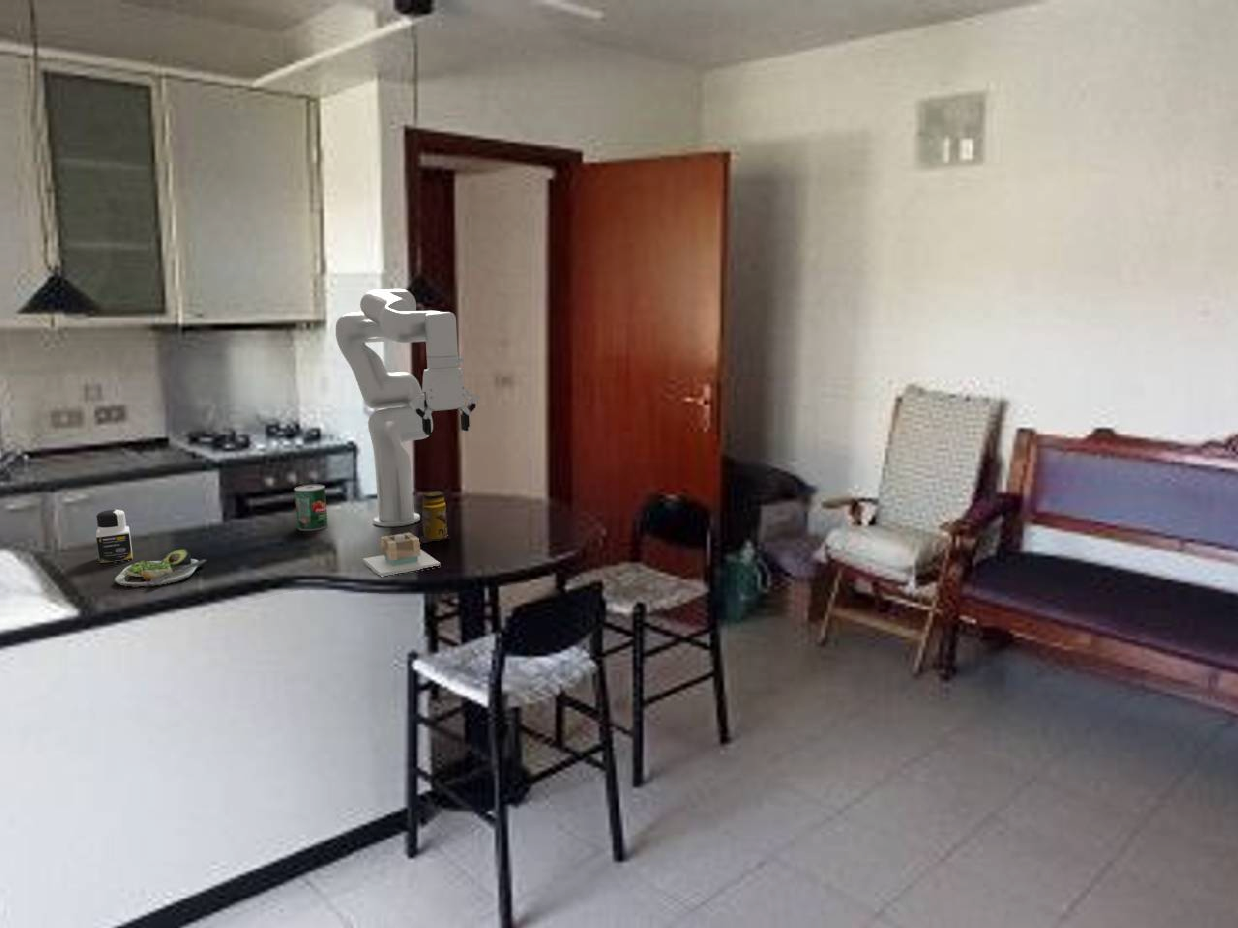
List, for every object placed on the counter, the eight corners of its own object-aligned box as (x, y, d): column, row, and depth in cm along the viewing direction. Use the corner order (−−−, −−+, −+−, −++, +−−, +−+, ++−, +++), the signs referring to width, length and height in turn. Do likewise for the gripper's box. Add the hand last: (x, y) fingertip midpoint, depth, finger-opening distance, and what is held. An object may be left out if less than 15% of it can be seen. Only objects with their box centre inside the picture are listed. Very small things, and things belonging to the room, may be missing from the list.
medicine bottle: (99, 564, 226) (93, 516, 224) (100, 557, 232) (93, 510, 230) (132, 560, 229) (126, 512, 227) (132, 553, 235) (126, 506, 233)
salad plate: (190, 588, 207) (188, 568, 207) (103, 595, 204) (100, 574, 203) (210, 563, 226) (208, 545, 225) (130, 569, 223) (128, 550, 222)
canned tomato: (327, 529, 254) (323, 489, 252) (296, 531, 252) (292, 491, 250) (328, 522, 262) (325, 483, 260) (299, 524, 260) (295, 485, 258)
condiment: (453, 539, 242) (450, 493, 239) (422, 544, 237) (419, 498, 235) (442, 533, 248) (439, 488, 245) (411, 538, 243) (408, 493, 241)
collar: (381, 553, 221) (380, 537, 220) (410, 548, 224) (409, 532, 224) (390, 560, 215) (389, 543, 214) (420, 555, 218) (419, 538, 218)
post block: (363, 562, 223) (361, 534, 221) (420, 552, 230) (418, 525, 228) (381, 577, 211) (378, 547, 209) (440, 566, 218) (438, 537, 216)
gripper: (470, 360, 237) (473, 427, 240) (403, 364, 228) (407, 434, 231) (481, 362, 230) (485, 431, 234) (413, 366, 222) (418, 438, 225)
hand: (446, 432), depth 233 cm, fingers open, 9 cm apart
